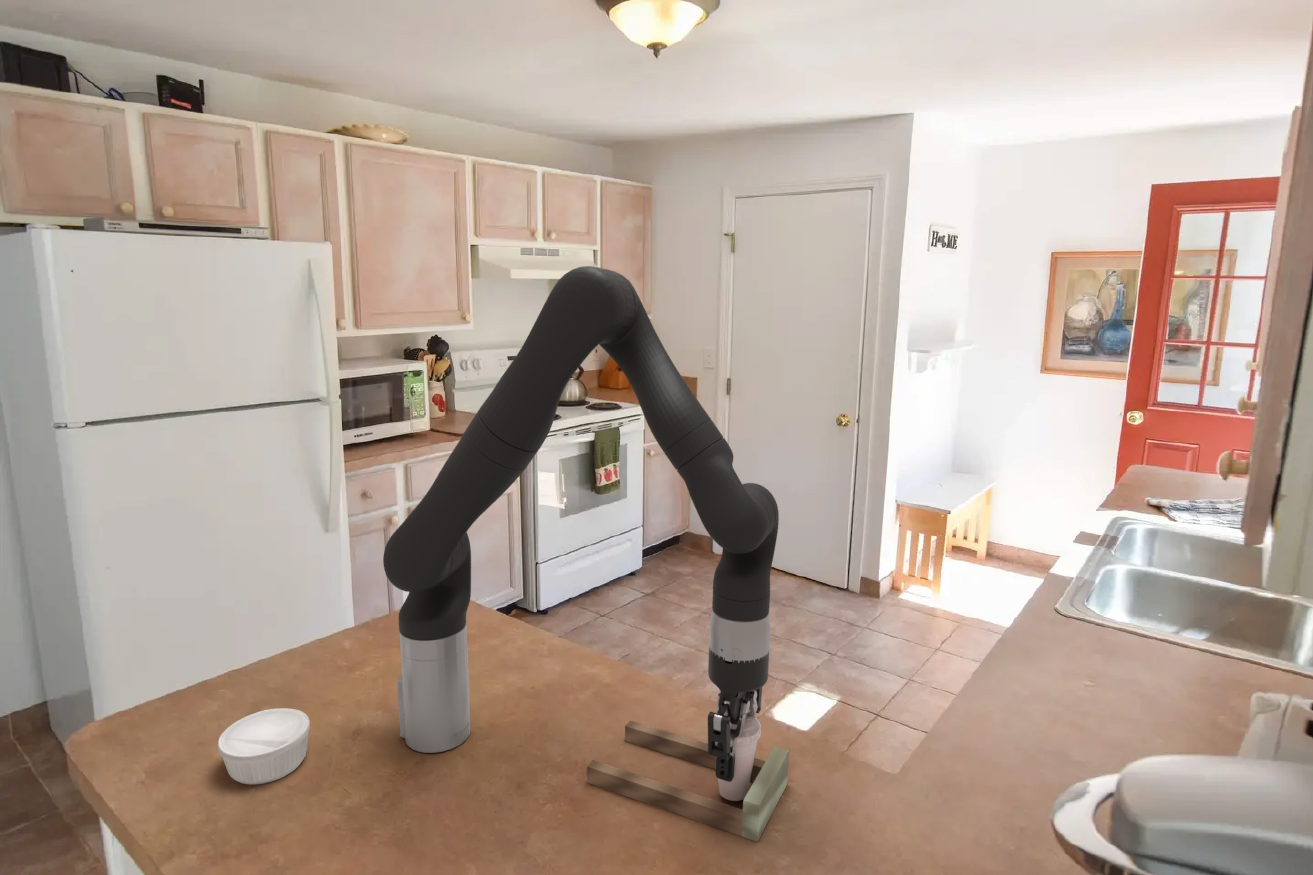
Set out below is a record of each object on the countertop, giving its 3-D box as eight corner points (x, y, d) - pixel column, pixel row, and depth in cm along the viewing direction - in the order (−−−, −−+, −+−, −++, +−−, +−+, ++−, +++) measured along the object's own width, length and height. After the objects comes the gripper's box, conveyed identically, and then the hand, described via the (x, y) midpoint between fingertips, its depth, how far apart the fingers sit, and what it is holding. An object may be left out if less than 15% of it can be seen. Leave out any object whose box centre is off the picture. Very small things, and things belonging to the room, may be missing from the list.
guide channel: (586, 782, 102) (586, 748, 101) (630, 735, 112) (630, 704, 111) (757, 841, 91) (759, 805, 90) (787, 783, 102) (789, 750, 101)
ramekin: (219, 800, 97) (215, 764, 96) (222, 753, 107) (219, 719, 106) (315, 776, 102) (312, 741, 101) (309, 732, 112) (307, 700, 111)
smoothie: (756, 811, 95) (761, 709, 92) (705, 803, 96) (709, 703, 94) (759, 779, 101) (764, 683, 99) (711, 772, 103) (715, 677, 100)
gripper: (731, 615, 103) (727, 727, 106) (688, 661, 90) (685, 786, 93) (785, 627, 99) (779, 742, 103) (748, 676, 87) (742, 806, 90)
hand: (734, 763), depth 98 cm, fingers closed on smoothie, 6 cm apart
